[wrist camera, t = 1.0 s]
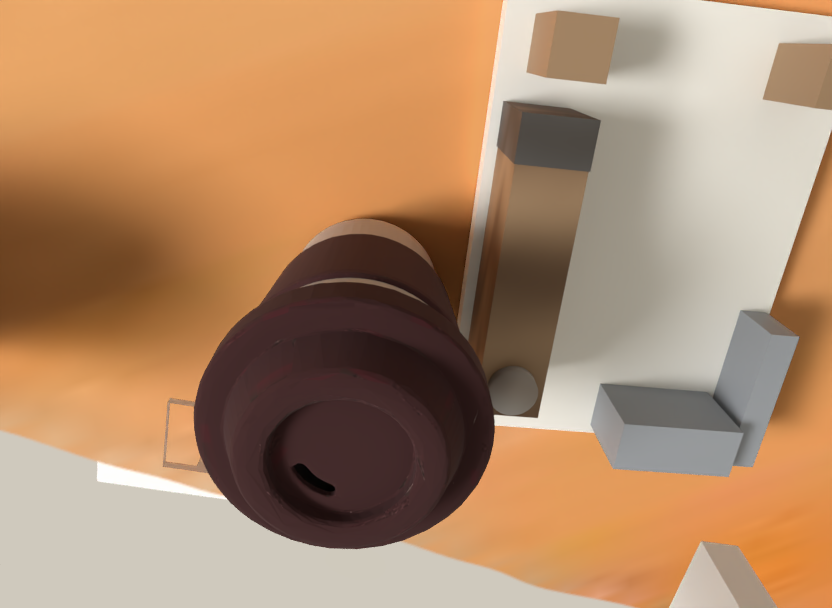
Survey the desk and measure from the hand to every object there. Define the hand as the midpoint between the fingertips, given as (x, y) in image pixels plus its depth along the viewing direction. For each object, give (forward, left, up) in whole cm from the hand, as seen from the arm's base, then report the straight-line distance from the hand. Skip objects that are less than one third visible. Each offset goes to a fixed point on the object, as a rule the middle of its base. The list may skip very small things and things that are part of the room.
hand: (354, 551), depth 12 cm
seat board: (-1, +13, -22) cm, 26 cm away
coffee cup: (+3, 0, -22) cm, 22 cm away
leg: (0, +7, -21) cm, 22 cm away
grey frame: (+11, -7, -23) cm, 26 cm away
